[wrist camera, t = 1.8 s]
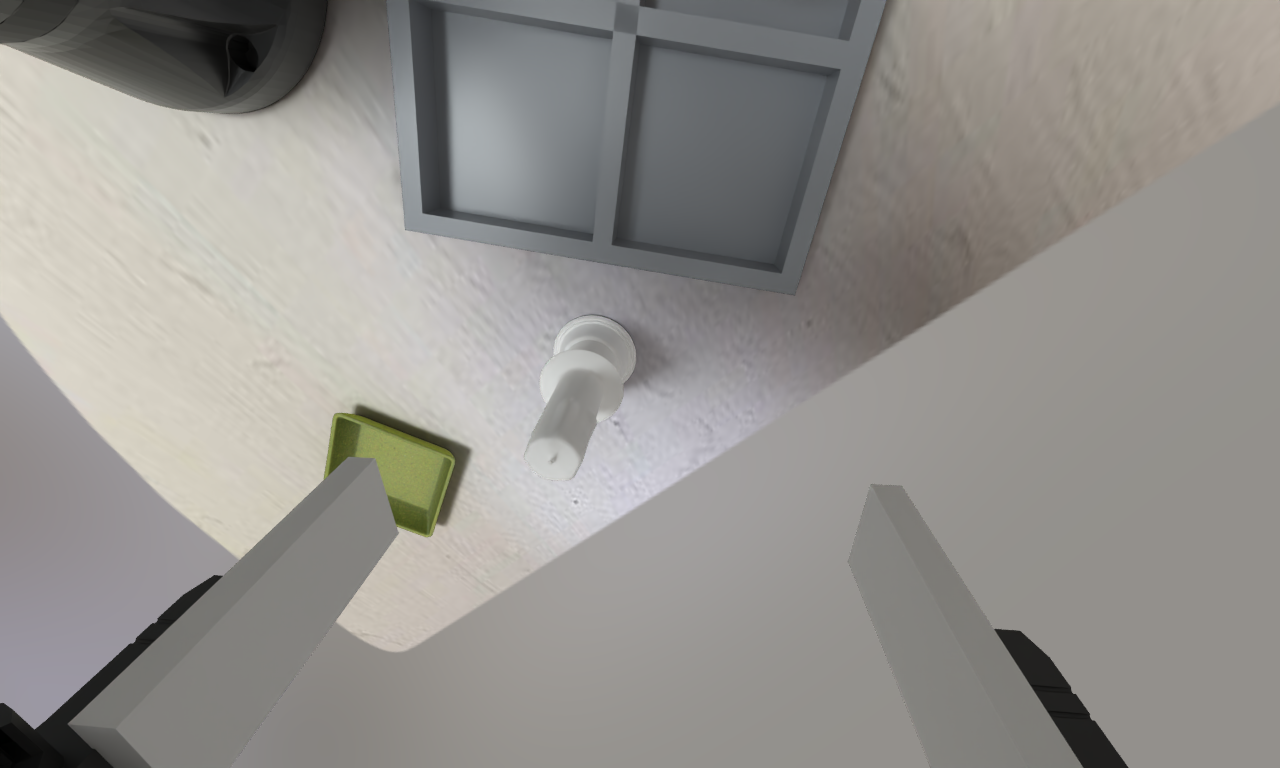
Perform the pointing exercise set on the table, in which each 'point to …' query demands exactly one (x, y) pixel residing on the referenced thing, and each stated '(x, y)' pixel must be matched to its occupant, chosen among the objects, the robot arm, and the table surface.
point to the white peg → (578, 393)
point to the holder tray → (629, 127)
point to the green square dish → (396, 468)
